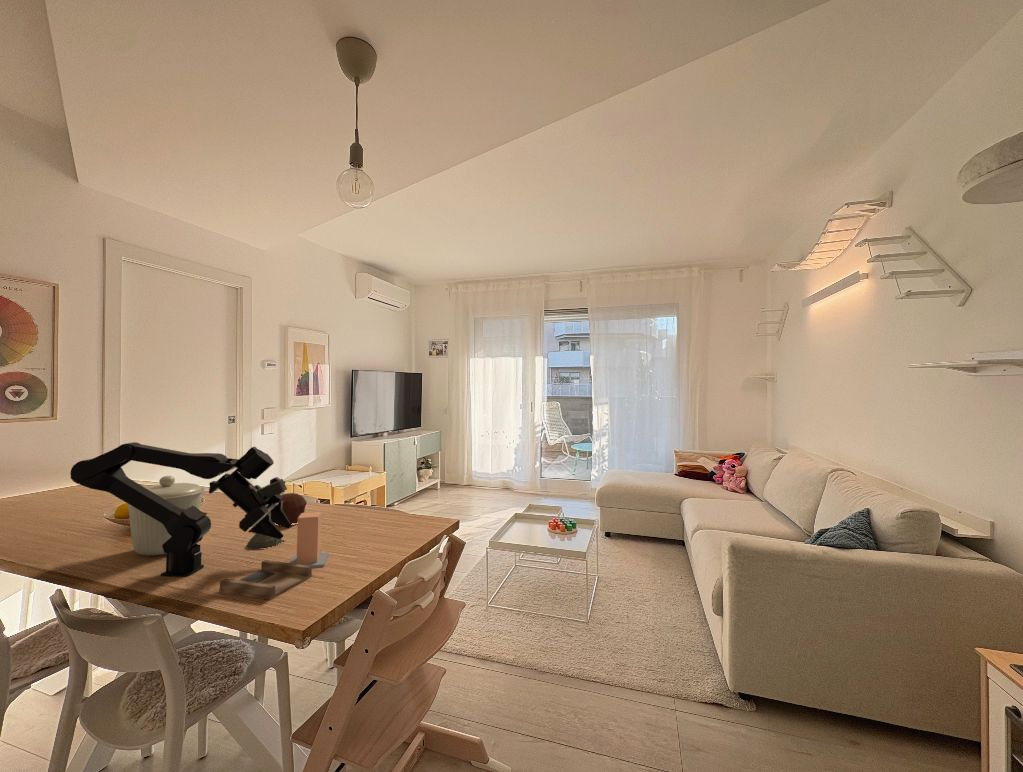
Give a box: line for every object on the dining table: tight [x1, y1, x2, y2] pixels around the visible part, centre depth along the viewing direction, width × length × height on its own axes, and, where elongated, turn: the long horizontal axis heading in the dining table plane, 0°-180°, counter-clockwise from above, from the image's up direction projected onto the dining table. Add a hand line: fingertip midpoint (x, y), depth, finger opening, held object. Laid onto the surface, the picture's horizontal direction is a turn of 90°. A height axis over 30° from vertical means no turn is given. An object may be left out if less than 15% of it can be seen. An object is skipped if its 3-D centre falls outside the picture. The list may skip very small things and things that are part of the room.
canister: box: [127, 475, 206, 557], centre depth 124 cm, size 18×18×21 cm
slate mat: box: [288, 552, 330, 569], centre depth 116 cm, size 9×9×1 cm
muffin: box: [278, 492, 308, 524], centre depth 152 cm, size 12×11×10 cm
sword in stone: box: [245, 533, 284, 550], centre depth 130 cm, size 10×8×12 cm
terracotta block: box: [296, 511, 322, 564], centre depth 116 cm, size 5×5×12 cm
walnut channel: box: [218, 559, 313, 601], centre depth 102 cm, size 14×13×3 cm
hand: (286, 532), depth 115 cm, fingers open, 9 cm apart
